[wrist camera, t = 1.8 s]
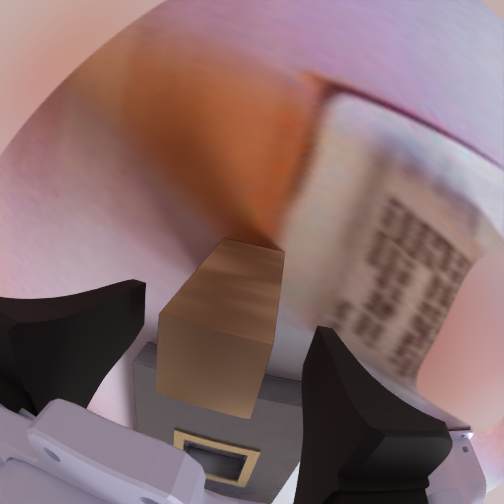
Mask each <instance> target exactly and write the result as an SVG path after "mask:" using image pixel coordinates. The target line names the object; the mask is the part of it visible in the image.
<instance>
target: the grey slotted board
mask: <svg viewBox="0 0 504 504" xmlns="http://www.w3.org/2000/svg"><path fill="white" fill-rule="evenodd" d="M133 375H134V392H135V406H136V418H137V428H138V432H139V433H142V434H145V435H147V436H150V437H153V438H156V439H158V440H161V441H164V442H166V443H168V444H170V445H173V446H175V447H177V448H179V449H181V450H184V451H185V452H187V453H188V454H189V455H190V456H191V457H193V458H194V459H195V460H196V461H198V462H199V463H200V464H201V466H202V468H203V470H204V473H205V476H206V480H205V484H204V488H205V489H207V490H210V491H212V492H215V493H217V494H220V495H223V496H227V497H232V498H237V499H242V500H247V501H253V502H259V503H266V504H271V503H272V502H273V500H274V499H275V497H276V496H277V495H278V493H279V492H280V490H281V489H282V487H283V486H284V485H285V483H286V482H287V480H288V479H289V477H290V476H291V474H292V473H293V471H294V470H295V468H296V466H297V465H298V463H299V462H300V460H301V451H302V441H303V412H302V388H301V383H302V382H299V381H294V380H289V379H284V378H279V377H274V376H270V375H265V374H264V377H263V380H262V384H261V387H260V390H259V393H258V396H257V399H256V403H255V406H254V409H253V412H252V415H251V418H250V419H246V418H242V417H237V416H233V415H229V414H225V413H221V412H218V411H214V410H210V409H207V408H203V407H200V406H196V405H193V404H189V403H186V402H183V401H180V400H177V399H174V398H171V397H168V396H165V395H162V394H159V393H156V378H157V345H156V344H153V343H150V342H147V344H146V345H145V346H144V348H143V349H142V350H141V352H140V353H139V354H138V356H137V357H136V358H135V360H134V361H133ZM190 441H192V442H196V443H199V444H202V445H206V446H210V447H214V448H217V449H221V450H225V451H230V452H234V453H238V454H243V455H244V456H243V459H242V460H240V459H236V458H232V457H227V456H223V455H219V454H215V453H211V452H208V451H204V450H200V449H197V448H193V447H190Z"/></svg>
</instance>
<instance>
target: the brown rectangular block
mask: <svg viewBox="0 0 504 504" xmlns="http://www.w3.org/2000/svg"><path fill="white" fill-rule="evenodd" d="M284 257H285V252H281V251H277V250H273V249H269V248H264V247H260V246H256V245H251V244H247V243H243V242H238V241H234V240H230V239H225V238H224V239H223V240H222V241H221V242H220V243H219V245H218V246H217V247H216V248H215V249H214V250H213V251H212V253H211V254H210V255H209V256H208V257H207V258H206V259H205V261H204V262H203V263H202V264H201V265H200V266H199V267H198V269H197V270H196V271H195V272H194V273H193V274H192V276H191V277H190V278H189V279H188V280H187V281H186V283H185V284H184V285H183V286H182V287H181V288H180V290H179V291H178V292H177V293H176V294H175V295H174V297H173V298H172V299H171V300H170V301H169V303H168V304H167V305H166V306H165V307H164V308H163V310H162V311H161V312H160V313H159V321H158V342H157V378H156V393H159V394H162V395H165V396H168V397H171V398H174V399H177V400H180V401H183V402H186V403H189V404H193V405H196V406H200V407H203V408H207V409H210V410H214V411H218V412H221V413H225V414H229V415H233V416H237V417H242V418H246V419H250V418H251V415H252V412H253V409H254V406H255V403H256V399H257V396H258V393H259V390H260V387H261V384H262V380H263V377H264V374H265V371H266V367H267V364H268V361H269V357H270V354H271V351H272V347H273V344H274V336H275V329H276V321H277V314H278V306H279V298H280V290H281V282H282V274H283V265H284Z"/></svg>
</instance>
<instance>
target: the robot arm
mask: <svg viewBox="0 0 504 504" xmlns="http://www.w3.org/2000/svg"><path fill="white" fill-rule="evenodd" d="M145 292H146V283H145V282H141V281H138V280H134V279H132V280H126V281H122V282H119V283H115V284H112V285H108V286H105V287H101V288H98V289H94V290H90V291H86V292H82V293H78V294H74V295H68V296H62V297H55V298H41V299H15V298H5V297H0V504H266V503H259V502H253V501H247V500H242V499H237V498H232V497H227V496H223V495H220V494H217V493H215V492H212V491H210V490H207V489H205V488H204V484H205V480H206V476H205V473H204V470H203V468H202V466H201V464H200V463H199V462H198V461H196V460H195V459H194V458H193V457H191V456H190V455H189V454H188V453H187V452H185V451H184V450H181V449H179V448H177V447H175V446H173V445H170V444H168V443H166V442H164V441H161V440H158V439H156V438H153V437H150V436H147V435H145V434H142V433H139V432H137V431H134V430H132V429H129V428H127V427H125V426H122V425H120V424H117V423H115V422H113V421H111V420H108V419H106V418H104V417H102V416H100V415H97V414H95V413H93V412H91V411H89V410H87V409H86V408H87V407H88V405H89V403H90V401H91V399H92V397H93V395H94V394H95V392H96V390H97V389H98V387H99V385H100V384H101V382H102V381H103V379H104V378H105V376H106V375H107V374H108V372H109V371H110V370H111V369H112V367H113V366H114V365H115V364H116V362H117V361H118V360H119V359H120V358H121V356H122V355H123V354H124V353H125V352H126V350H127V349H128V348H129V347H130V345H131V344H132V343H133V342H134V340H135V339H136V337H137V335H138V334H139V332H140V330H141V329H142V327H143V325H144V317H145ZM301 388H302V412H303V441H302V451H301V460H300V468H299V475H298V481H297V487H296V493H295V498H294V503H293V504H482V503H483V501H484V498H485V494H486V480H485V477H484V474H483V471H482V469H481V466H480V464H479V461H478V459H477V457H476V454H475V452H474V449H473V447H472V445H471V442H470V440H469V439H470V438H471V436H472V435H473V431H472V430H464V431H448V429H447V426H446V424H445V422H443V421H441V420H439V419H436V418H434V417H432V416H429V415H427V414H425V413H423V412H421V411H419V410H417V409H416V408H414V407H412V406H410V405H409V404H407V403H406V402H404V401H402V400H401V399H399V398H398V397H397V396H395V395H394V394H393V393H391V392H390V391H389V390H387V389H386V388H385V387H384V386H382V385H381V384H380V383H379V382H378V381H377V380H376V379H375V378H373V377H372V376H371V375H370V374H369V373H368V372H367V371H366V369H365V368H364V367H363V366H362V365H361V364H360V363H359V362H358V361H357V359H356V358H355V357H354V356H353V355H352V353H351V352H350V351H349V350H348V348H347V347H346V346H345V344H344V343H343V342H342V340H341V339H340V338H339V336H338V335H337V334H336V333H335V331H334V330H333V329H332V328H327V327H322V326H317V329H316V331H315V334H314V337H313V340H312V343H311V345H310V348H309V351H308V353H307V356H306V359H305V361H304V364H303V372H302V383H301Z"/></svg>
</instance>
